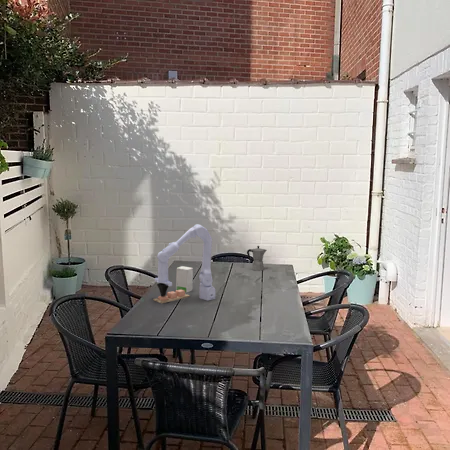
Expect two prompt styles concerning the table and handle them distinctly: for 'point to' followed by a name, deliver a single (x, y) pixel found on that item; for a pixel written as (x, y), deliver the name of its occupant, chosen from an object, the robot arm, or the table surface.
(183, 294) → the tile one
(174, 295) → the tile two
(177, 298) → the board
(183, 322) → the table surface
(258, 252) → the coffeepot
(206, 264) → the robot arm
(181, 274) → the skincare box
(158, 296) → the tile three
